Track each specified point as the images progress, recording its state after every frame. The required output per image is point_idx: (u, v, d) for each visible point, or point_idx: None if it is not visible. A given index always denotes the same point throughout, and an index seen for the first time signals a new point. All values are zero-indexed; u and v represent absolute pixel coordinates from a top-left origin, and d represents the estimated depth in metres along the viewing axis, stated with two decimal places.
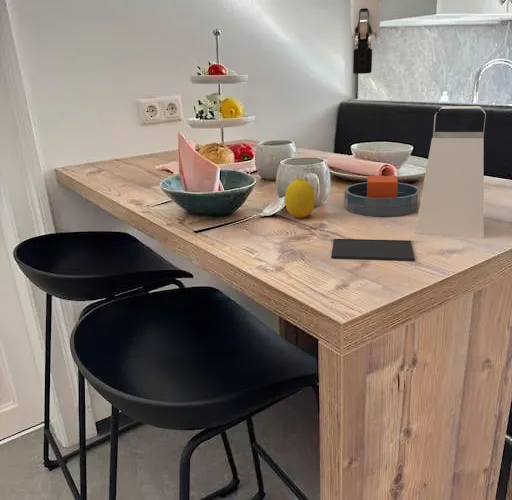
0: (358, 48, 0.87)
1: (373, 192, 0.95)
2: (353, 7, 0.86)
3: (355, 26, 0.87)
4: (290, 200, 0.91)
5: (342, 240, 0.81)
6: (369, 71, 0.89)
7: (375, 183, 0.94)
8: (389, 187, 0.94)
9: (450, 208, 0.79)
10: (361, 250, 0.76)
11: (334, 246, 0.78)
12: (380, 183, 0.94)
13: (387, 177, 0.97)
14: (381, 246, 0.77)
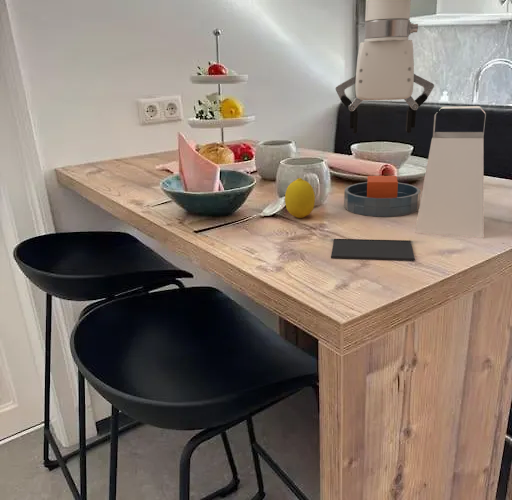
0: (416, 108, 0.90)
1: (373, 192, 0.95)
2: (412, 70, 0.87)
3: (412, 88, 0.89)
4: (290, 200, 0.91)
5: (342, 240, 0.81)
6: None
7: (375, 183, 0.94)
8: (389, 187, 0.94)
9: (450, 208, 0.79)
10: (361, 250, 0.76)
11: (334, 246, 0.78)
12: (380, 183, 0.94)
13: (387, 177, 0.97)
14: (381, 246, 0.77)
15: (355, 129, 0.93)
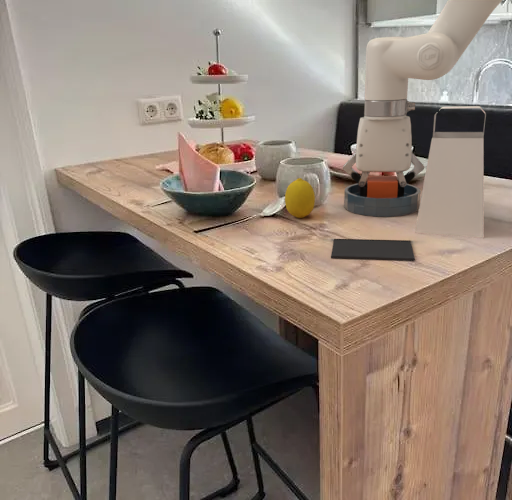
0: (405, 185, 0.95)
1: (373, 192, 0.95)
2: (410, 145, 0.91)
3: None
4: (290, 200, 0.91)
5: (342, 240, 0.81)
6: None
7: (375, 183, 0.94)
8: (389, 187, 0.94)
9: (450, 208, 0.79)
10: (361, 250, 0.76)
11: (334, 246, 0.78)
12: (380, 183, 0.94)
13: (387, 177, 0.97)
14: (381, 246, 0.77)
15: None
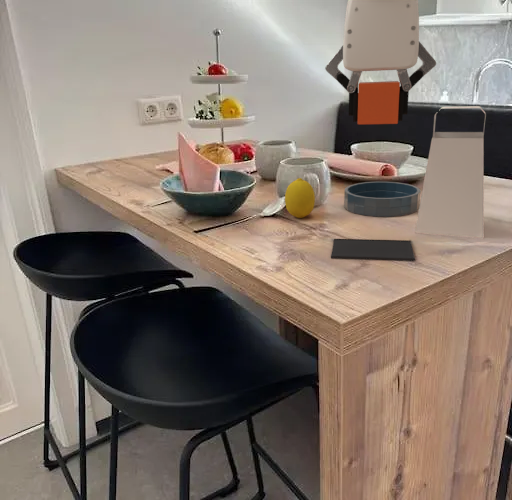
0: (409, 89, 0.70)
1: (366, 98, 0.69)
2: (417, 29, 0.66)
3: None
4: (290, 200, 0.91)
5: (342, 240, 0.81)
6: None
7: (369, 85, 0.69)
8: (388, 90, 0.69)
9: (450, 208, 0.79)
10: (361, 250, 0.76)
11: (334, 246, 0.78)
12: (376, 85, 0.69)
13: None
14: (381, 246, 0.77)
15: (355, 116, 0.72)
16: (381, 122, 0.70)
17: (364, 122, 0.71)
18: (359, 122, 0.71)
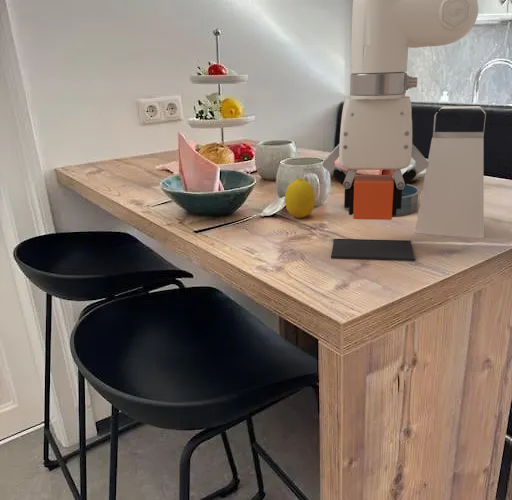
0: None
1: (361, 195, 0.72)
2: (410, 134, 0.69)
3: None
4: (290, 200, 0.91)
5: (342, 240, 0.81)
6: None
7: (364, 184, 0.72)
8: (382, 189, 0.71)
9: (450, 208, 0.79)
10: (361, 250, 0.76)
11: (334, 246, 0.78)
12: (370, 184, 0.71)
13: (380, 176, 0.75)
14: (381, 246, 0.77)
15: (351, 210, 0.74)
16: (376, 218, 0.73)
17: (359, 217, 0.73)
18: (355, 217, 0.73)
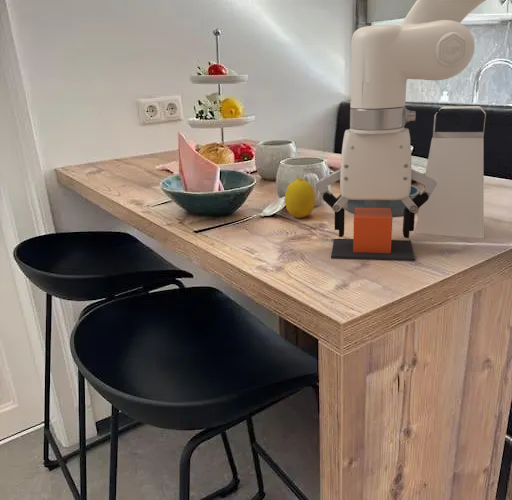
0: None
1: (361, 230, 0.74)
2: (410, 166, 0.70)
3: (410, 187, 0.72)
4: (290, 200, 0.91)
5: (342, 240, 0.81)
6: None
7: (363, 219, 0.73)
8: (381, 224, 0.73)
9: (450, 208, 0.79)
10: None
11: (334, 246, 0.78)
12: (370, 219, 0.73)
13: (379, 210, 0.76)
14: None
15: (341, 233, 0.76)
16: (375, 251, 0.75)
17: (359, 250, 0.75)
18: (354, 250, 0.75)
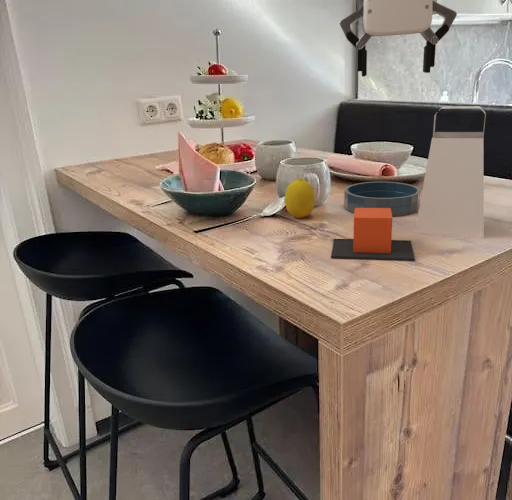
0: (436, 43, 0.76)
1: (361, 230, 0.74)
2: None
3: (431, 17, 0.75)
4: (290, 200, 0.91)
5: (342, 240, 0.81)
6: None
7: (363, 219, 0.73)
8: (381, 224, 0.73)
9: (450, 208, 0.79)
10: None
11: (334, 246, 0.78)
12: (370, 219, 0.73)
13: (379, 210, 0.76)
14: None
15: (364, 71, 0.79)
16: (375, 251, 0.75)
17: (359, 250, 0.75)
18: (354, 250, 0.75)
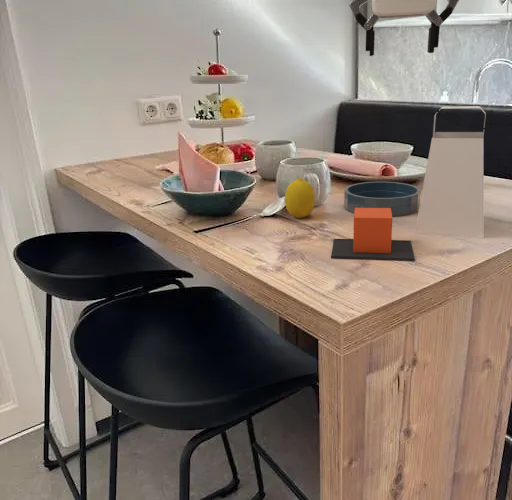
0: (440, 24, 0.81)
1: (361, 230, 0.74)
2: None
3: (436, 0, 0.80)
4: (290, 200, 0.91)
5: (342, 240, 0.81)
6: None
7: (363, 219, 0.73)
8: (381, 224, 0.73)
9: (450, 208, 0.79)
10: None
11: (334, 246, 0.78)
12: (370, 219, 0.73)
13: (379, 210, 0.76)
14: None
15: (372, 51, 0.84)
16: (375, 251, 0.75)
17: (359, 250, 0.75)
18: (354, 250, 0.75)
